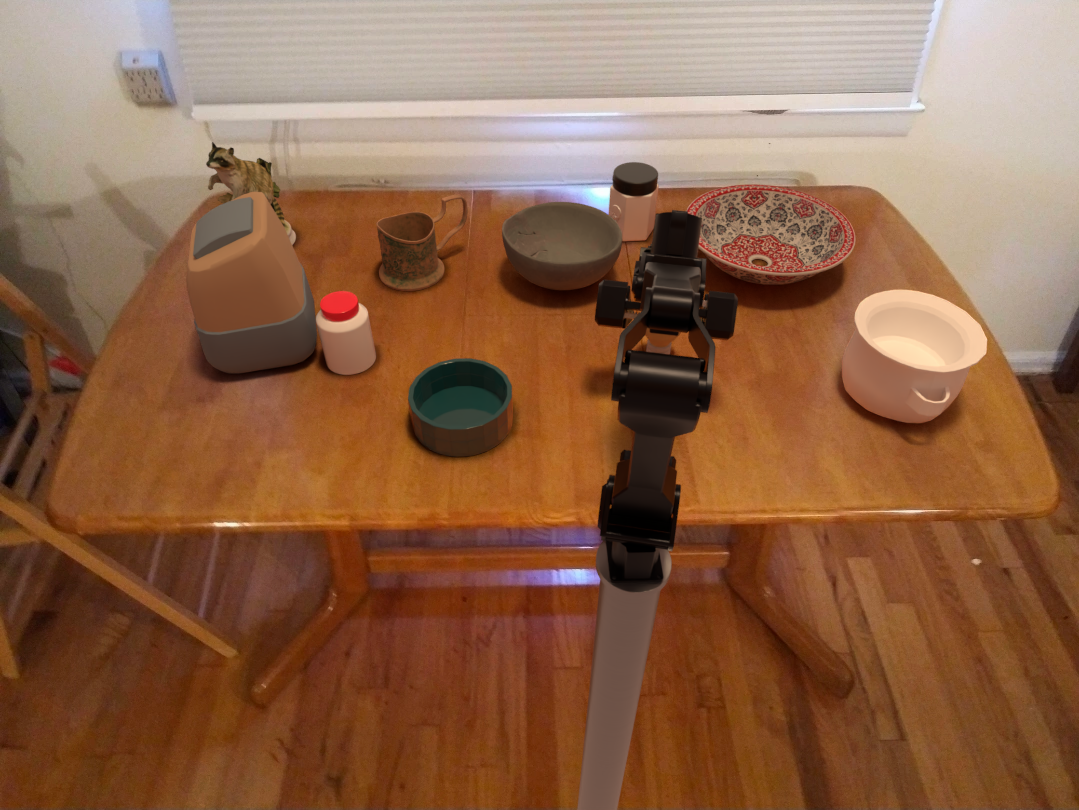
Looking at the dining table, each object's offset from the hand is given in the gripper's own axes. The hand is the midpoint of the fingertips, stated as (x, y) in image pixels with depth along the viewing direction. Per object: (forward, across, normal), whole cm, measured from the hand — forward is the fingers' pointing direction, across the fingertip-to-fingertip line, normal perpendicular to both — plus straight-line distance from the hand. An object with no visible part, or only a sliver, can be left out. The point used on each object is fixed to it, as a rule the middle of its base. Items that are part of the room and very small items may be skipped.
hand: (663, 317), depth 114 cm
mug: (+21, +43, -7) cm, 48 cm away
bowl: (+22, +18, -8) cm, 29 cm away
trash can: (+3, +62, +11) cm, 63 cm away
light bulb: (+8, 0, +5) cm, 10 cm away
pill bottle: (+2, +47, +12) cm, 49 cm away
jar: (+34, +8, -20) cm, 40 cm away
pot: (+7, -35, +6) cm, 36 cm away
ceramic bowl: (+29, -16, -15) cm, 37 cm away
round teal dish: (-5, +27, +18) cm, 33 cm away
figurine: (+22, +75, -9) cm, 79 cm away
